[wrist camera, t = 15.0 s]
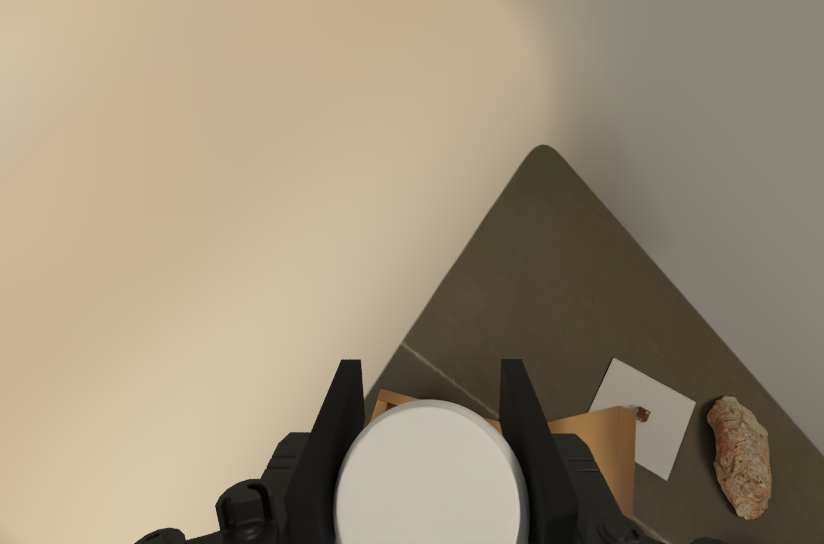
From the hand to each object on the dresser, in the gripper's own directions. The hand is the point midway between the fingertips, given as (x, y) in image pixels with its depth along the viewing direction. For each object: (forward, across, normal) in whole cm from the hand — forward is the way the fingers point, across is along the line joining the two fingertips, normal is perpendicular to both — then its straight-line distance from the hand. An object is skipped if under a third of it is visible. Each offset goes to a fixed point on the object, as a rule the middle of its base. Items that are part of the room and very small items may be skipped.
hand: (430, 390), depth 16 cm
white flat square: (+21, +19, -16) cm, 32 cm away
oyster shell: (+18, +24, -18) cm, 35 cm away
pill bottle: (0, 0, -5) cm, 5 cm away
